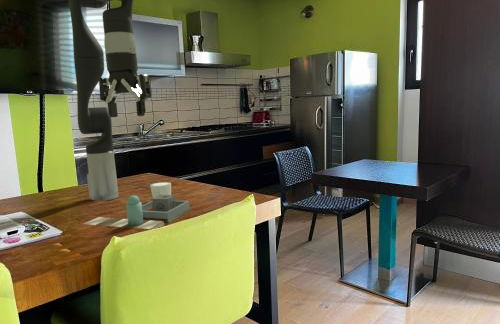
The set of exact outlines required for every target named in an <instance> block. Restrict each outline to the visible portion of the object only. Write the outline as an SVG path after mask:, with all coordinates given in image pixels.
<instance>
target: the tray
mask: <svg viewBox="0 0 500 324" xmlns="http://www.w3.org/2000/svg"><path fill="white" fill-rule="evenodd" d="M150 209H153V202H152V200H151V201H149V202H146V203H145V204H142V213H143V219H144V218H145V219H158V220H159V219H162V220H164V221H163V222H164V224H169V223H171V222H173V221H174V220H176V219H178V218H180V217H181V216H183V215H185V214H187V213H188V212H190V211H191V208H190V201H189V200H176V207H175V208H173V209H171V210H169V211H167V212H160V211H153V210H150Z"/></svg>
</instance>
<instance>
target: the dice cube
mask: <svg viewBox="0 0 500 324" xmlns="http://www.w3.org/2000/svg"><path fill="white" fill-rule="evenodd" d="M151 201H152V202H153V208H152V211H160V212H167V211H169V210H171V209H173V208H175V207H176V201H177V200H176V194H171V195H159V196H157V197H155V198H153V197H152V199H151Z"/></svg>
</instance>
